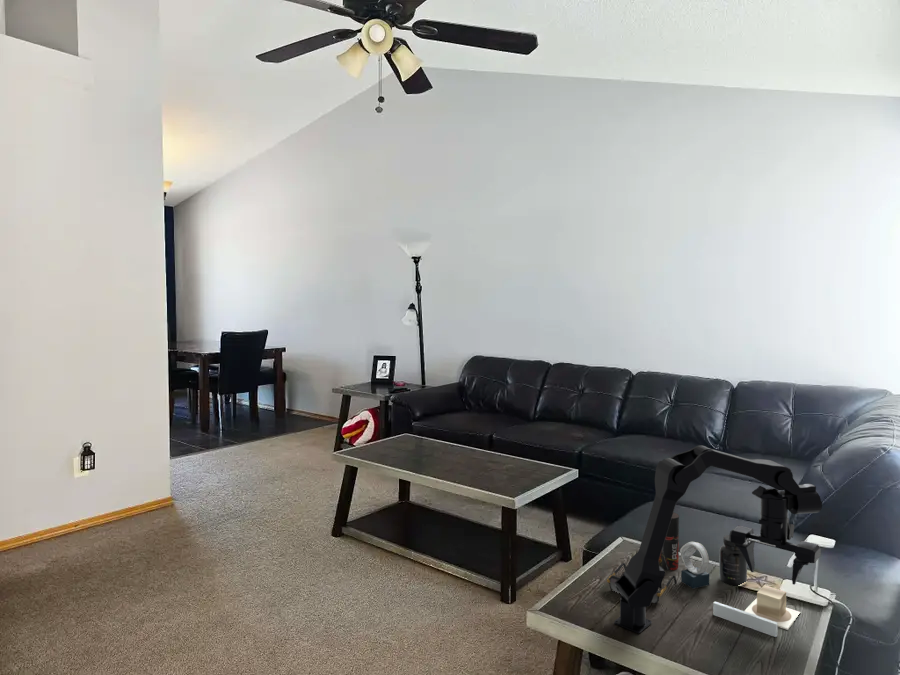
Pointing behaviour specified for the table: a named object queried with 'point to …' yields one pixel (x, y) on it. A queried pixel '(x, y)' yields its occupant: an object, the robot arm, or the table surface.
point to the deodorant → (671, 546)
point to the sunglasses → (613, 578)
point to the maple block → (771, 602)
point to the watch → (692, 574)
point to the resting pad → (782, 623)
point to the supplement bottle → (731, 564)
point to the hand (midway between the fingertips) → (772, 577)
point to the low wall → (745, 619)
